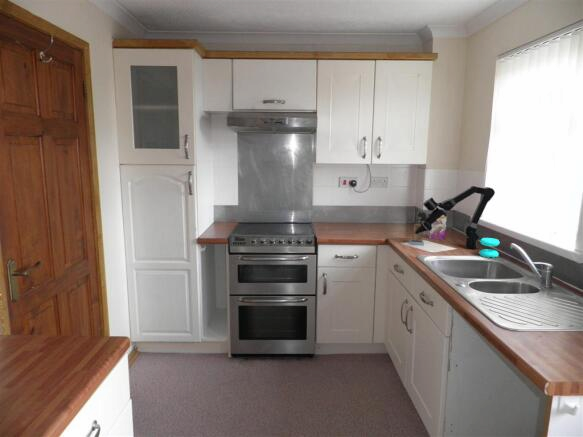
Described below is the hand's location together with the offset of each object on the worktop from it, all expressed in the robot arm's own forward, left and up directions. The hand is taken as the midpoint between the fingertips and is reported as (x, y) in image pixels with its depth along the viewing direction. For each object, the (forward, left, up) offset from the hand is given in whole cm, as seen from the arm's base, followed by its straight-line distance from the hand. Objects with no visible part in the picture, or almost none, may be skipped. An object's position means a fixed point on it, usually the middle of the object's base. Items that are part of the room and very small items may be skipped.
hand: (415, 232), depth 254 cm
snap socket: (-1, +1, -7) cm, 7 cm away
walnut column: (-1, +1, -6) cm, 6 cm away
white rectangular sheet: (-4, +8, -8) cm, 12 cm away
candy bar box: (-29, -9, -9) cm, 31 cm away
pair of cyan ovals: (-19, +39, -9) cm, 44 cm away
